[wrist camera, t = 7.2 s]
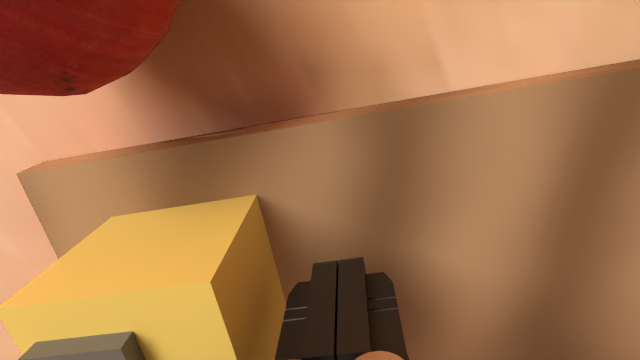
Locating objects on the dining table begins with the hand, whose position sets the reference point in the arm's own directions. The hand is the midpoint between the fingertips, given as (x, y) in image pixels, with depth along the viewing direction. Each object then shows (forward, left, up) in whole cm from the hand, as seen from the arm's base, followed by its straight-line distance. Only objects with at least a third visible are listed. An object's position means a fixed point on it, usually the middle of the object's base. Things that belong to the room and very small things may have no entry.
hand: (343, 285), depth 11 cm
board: (-1, +4, -3) cm, 5 cm away
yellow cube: (+5, 0, -1) cm, 5 cm away
